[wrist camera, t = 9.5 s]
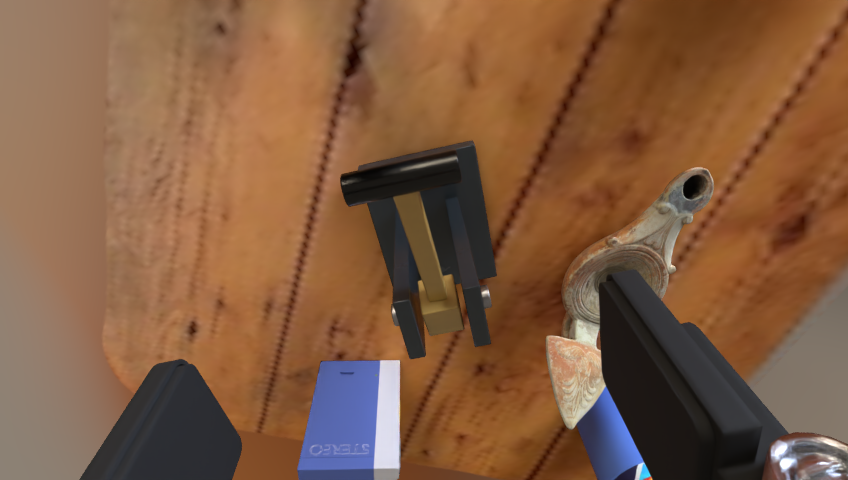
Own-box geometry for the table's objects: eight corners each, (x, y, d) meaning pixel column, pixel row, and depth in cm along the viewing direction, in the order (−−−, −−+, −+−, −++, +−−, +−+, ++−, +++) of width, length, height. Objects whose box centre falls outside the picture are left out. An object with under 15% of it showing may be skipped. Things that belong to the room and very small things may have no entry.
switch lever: (339, 159, 20) (340, 199, 19) (452, 134, 20) (461, 172, 18) (404, 307, 30) (407, 340, 29) (479, 292, 30) (487, 325, 28)
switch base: (358, 165, 36) (337, 253, 24) (472, 139, 35) (507, 218, 23) (396, 288, 42) (393, 408, 30) (494, 268, 41) (530, 382, 29)
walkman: (323, 380, 47) (299, 496, 36) (321, 360, 45) (296, 474, 35) (400, 380, 47) (400, 494, 37) (401, 360, 46) (400, 472, 35)
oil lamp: (501, 329, 44) (525, 414, 36) (646, 133, 35) (726, 183, 27) (573, 358, 47) (613, 444, 38) (728, 180, 38) (826, 240, 29)
